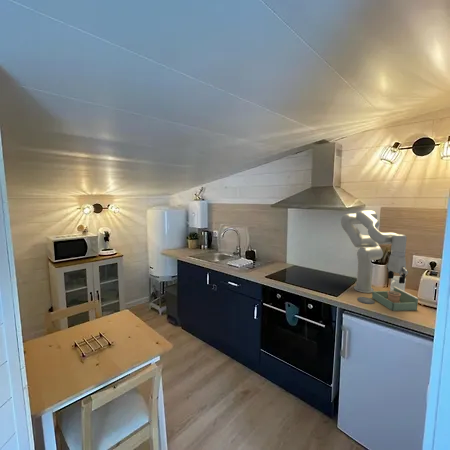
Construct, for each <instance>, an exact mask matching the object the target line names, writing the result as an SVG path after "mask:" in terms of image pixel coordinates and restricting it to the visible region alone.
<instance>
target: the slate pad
mask: <svg viewBox="0 0 450 450" xmlns="http://www.w3.org/2000/svg"><path fill="white" fill-rule="evenodd" d="M357 301H358V302H359V303H362V304H367V305H374V304H376V300H375V299H373V298H372V297H371V298H370V297H366V296H359V297H357Z"/></svg>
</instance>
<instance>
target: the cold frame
mask: <svg viewBox="0 0 450 450" xmlns="http://www.w3.org/2000/svg"><path fill="white" fill-rule="evenodd" d="M388 291H389V290H381V291H380V290H374V291H373V292H372V294H371V299H373V300H374V301H375V302H378V303H380V305H383V306H385V307H386V308H388V309H389V310H391V311H397V312H398V311H418V306H419V305H418V303H419V297H417V296H415V295H413V294H411V293H410V292H407V291H406V290H405V291H403V290H401V289H399V288H397V287H394V291H395V292H399V293H400V294H401V296H400V302H399V303H393V302H391V301H389V300H388V294H387V292H388Z"/></svg>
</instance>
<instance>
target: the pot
mask: <svg viewBox="0 0 450 450" xmlns="http://www.w3.org/2000/svg"><path fill="white" fill-rule="evenodd" d="M387 291H388V292H387V294H388V298H387V299H388V300H389V301H391V302H393V303H401V302H400V296H401V294H400V293H399V292H395V291H390V290H387Z"/></svg>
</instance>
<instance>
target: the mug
mask: <svg viewBox="0 0 450 450" xmlns="http://www.w3.org/2000/svg"><path fill="white" fill-rule="evenodd" d="M399 277H400V275H394V276H393V279H390V287H389V288H390V289H389V291H394V287H397V288H399V289H401V290H403V291H405V292H406V290H405V289H406V282H407V279H406V278H405V283H399Z"/></svg>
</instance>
